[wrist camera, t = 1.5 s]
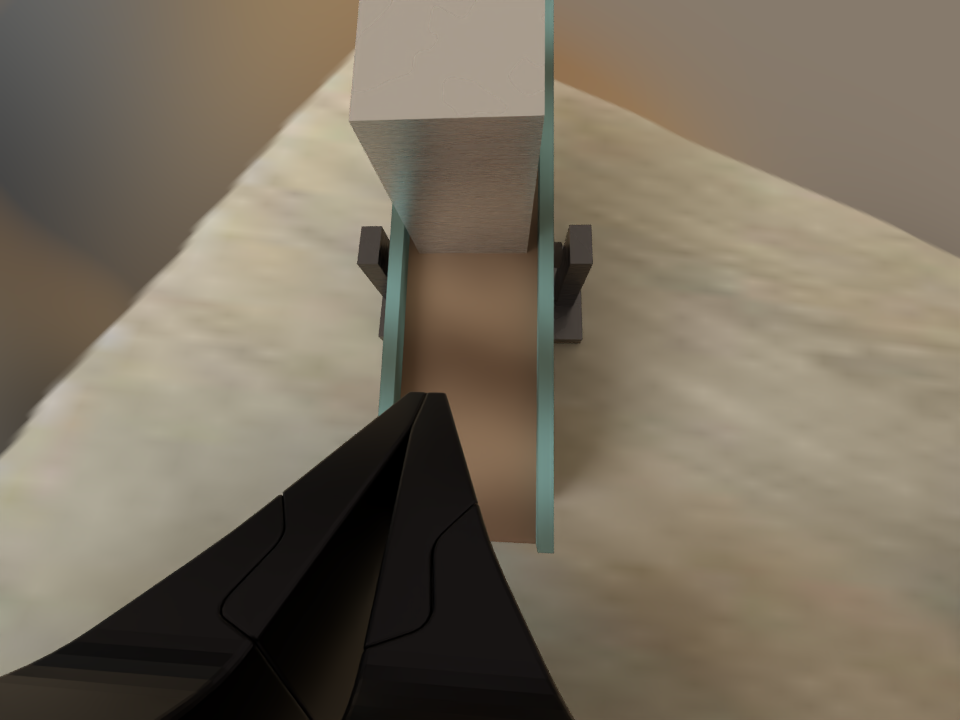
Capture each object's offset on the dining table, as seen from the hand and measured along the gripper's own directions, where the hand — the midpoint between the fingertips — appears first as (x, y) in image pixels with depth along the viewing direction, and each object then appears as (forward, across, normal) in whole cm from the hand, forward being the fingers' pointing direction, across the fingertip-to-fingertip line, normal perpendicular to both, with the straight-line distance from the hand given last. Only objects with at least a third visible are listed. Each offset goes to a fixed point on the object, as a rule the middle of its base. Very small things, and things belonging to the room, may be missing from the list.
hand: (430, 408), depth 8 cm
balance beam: (+14, 0, +2) cm, 14 cm away
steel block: (+12, 0, -2) cm, 13 cm away
